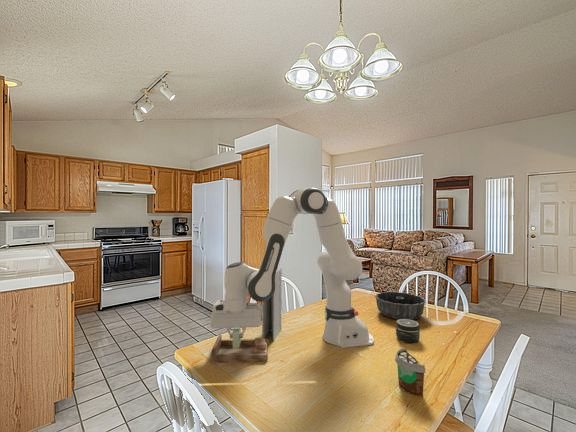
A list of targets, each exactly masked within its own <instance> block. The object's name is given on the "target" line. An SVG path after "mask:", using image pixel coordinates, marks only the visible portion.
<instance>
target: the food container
mask: <svg viewBox="0 0 576 432" xmlns="http://www.w3.org/2000/svg"><path fill="white" fill-rule="evenodd" d="M407 348H408V347H407ZM407 348H406V347H405V348H400V349H398V350H397V352H396V354H395V356H394V361H395V362H396V364H397V378H398V386H399V388H400V390H403V391H404V392H406V393H408V394H410V395H413V396H421V397H423V395H424V385H425V374H426V365H424V364H420V362H418V360H417V359H416V357H415V356H413V355H411V354H410V353H409V352H408V351H407V350H408V349H407Z"/></svg>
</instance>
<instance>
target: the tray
mask: <svg viewBox="0 0 576 432" xmlns="http://www.w3.org/2000/svg"><path fill="white" fill-rule="evenodd" d="M222 338H223V336H222V334H219V335H218V336H217V338H216V341H215V343H214V345H213V346H212V349H211V351H210V352H211V355H210V356H211V361H210V363H216V364H217V363H252V362H254V363H255V362H256V363H258V362H260V363H262V362H266V363H267V362H268V359H269V357H268V356H269V338H264V339H265V343H267V349H266V354H254V349H255V338H246V339H244V338H241V342H240V346H239V349H233V339H222Z"/></svg>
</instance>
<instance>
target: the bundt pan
mask: <svg viewBox="0 0 576 432" xmlns="http://www.w3.org/2000/svg"><path fill="white" fill-rule="evenodd" d="M374 297H375V300H376V301H375V302H376V307H377V310H378V311H379V312H380V313H381V314H382V315H384V316H386V317H387V318H389V319H390V318H392V319H395V320H399V319H409V320H413V321H416V320H417V319H419V318H420V317H422V316H423V314H424V309H425V305H426V302H427V300H426V298H424V297H422V296H420V295H416V294H413V293H407V292H403V291H402V292H400V291H384V292H381V291H380V293H376V294H375V296H374Z"/></svg>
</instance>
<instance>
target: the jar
mask: <svg viewBox="0 0 576 432" xmlns="http://www.w3.org/2000/svg"><path fill="white" fill-rule="evenodd" d="M420 325H421V324H420V322H418V321H416V320H413V319H412V320H409V319H400V318H399V319H396V322H395V337H396V338H397V340H398V341H399V342H401V341H402V343H405V344H410V345H411V344H412V345H413V343H414V344H418V342H419V340H420V338H421V337H420V336H421V333H420V332H421V327H420Z"/></svg>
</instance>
